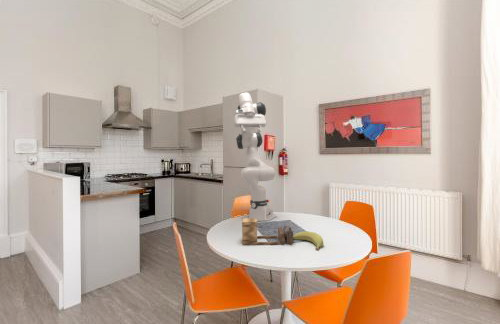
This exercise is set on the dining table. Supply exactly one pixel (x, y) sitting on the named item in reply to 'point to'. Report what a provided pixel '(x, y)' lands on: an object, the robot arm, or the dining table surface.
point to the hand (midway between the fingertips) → (252, 132)
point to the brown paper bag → (249, 230)
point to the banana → (310, 238)
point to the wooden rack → (281, 236)
